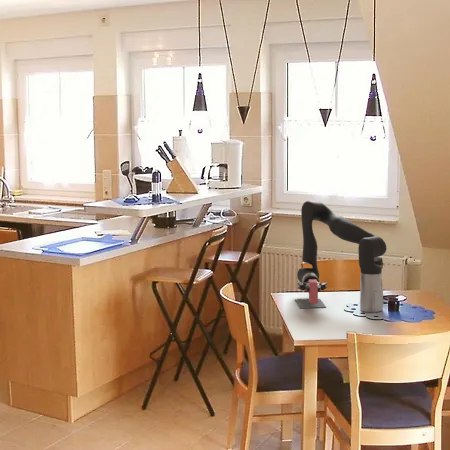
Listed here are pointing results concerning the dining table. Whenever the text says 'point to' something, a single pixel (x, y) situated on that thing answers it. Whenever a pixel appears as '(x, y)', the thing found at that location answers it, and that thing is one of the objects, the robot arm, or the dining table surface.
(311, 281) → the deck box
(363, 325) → the dining table surface
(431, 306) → the dining table surface
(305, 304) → the mat
